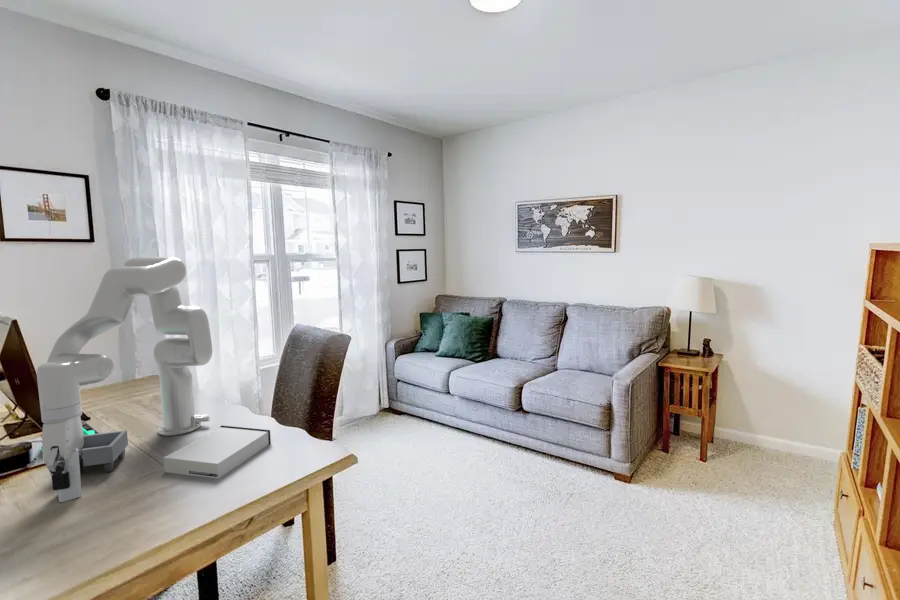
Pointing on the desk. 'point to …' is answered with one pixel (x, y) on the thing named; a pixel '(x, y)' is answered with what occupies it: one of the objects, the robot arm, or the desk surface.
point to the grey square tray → (104, 448)
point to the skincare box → (71, 478)
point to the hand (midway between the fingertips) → (69, 480)
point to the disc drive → (217, 452)
